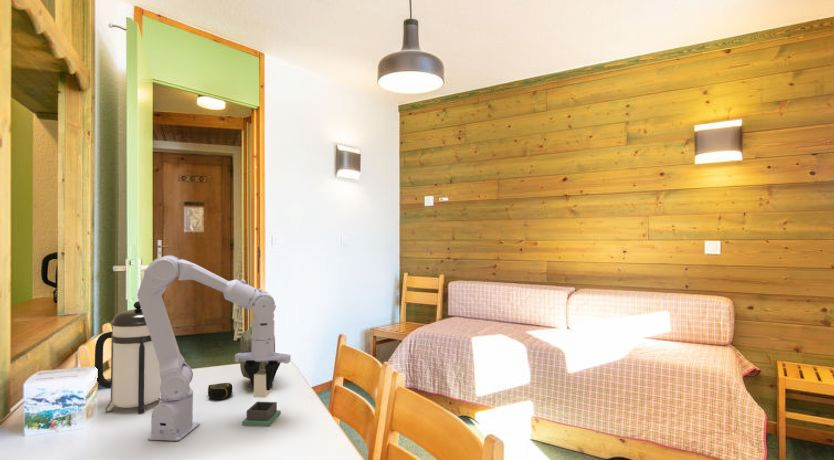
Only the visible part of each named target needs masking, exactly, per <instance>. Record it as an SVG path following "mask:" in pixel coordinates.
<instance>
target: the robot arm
mask: <svg viewBox="0 0 834 460" xmlns="http://www.w3.org/2000/svg"><path fill="white" fill-rule="evenodd" d="M177 278H178V279H177ZM176 279H177V280H178V281H189V280H192V281H195V282H198V283H200V284H202V285H205V286H207V287H210V288H212V289H214V290H217V291H219V292H221V293H223V298H224V299H225V300H226V301H229V302H230V303H234V304H235V305H237V306H240V307H242V308H244V309H245V310H249V309H250V310H252V322H251V326H252V352H251V353H240V352H238V353H236V354H235V355H234V362H235V363H239V362H240V361H244V362H246V364H245V365H244V369H245V370H246V372H247V373H248V375H249V378H250V379H249V380H250V381H251V384H252V386H251V387H252V390H253V391H254V374H255V373H257V372H258V371H259V367H260V362H269V363H268V364H267V365H265V370H266V378H267V381H266V388H267V390H270V389H271V390H272V389H273V384H274V380H275V378H276V377H275V376H276V373H277V372H278V370H279V367H280V365H281V364H289V363H290V362H291V354H287V353H279V352H275V353H274V336H275V320H274V319H275V313H274V312H275V311H276V307H277V305H276V302H275V300H274V297H273V296H272V294H270V293H268V291H263V289H261V288H255V286H251V285H250V284H248V283H246V280H245V279H243V278H242V279H240V280H239V279H233V280H232V279H231V280H227V279H225V278H224V277H222V276H220V275H217V274H216V273H213V272H212V271H209V270H208V269H206V268H204V267H202V266H200V265H199V264H197V263H193V262H191V261H189V260H187V259H183V258H179V257H177V256H175V255H170V254H167V255H164V256H162V257H158V258H156V259H154V260H152V262H151V263H149V265H148V266H147V268H145V270H144V272H143V277H142V280H141V282H140V285H139V289H138V290H137V291H138V292H137V300H138V301H139V303H140V306H141V308H140V309H142V312H143V315H144V318H145V321H146V324H147V327H148V330H149V333H150V337H151V340H152V343H153V346H154V349H155V352H156V355H157V358H158V361H159V369H160V377H161V385H160V392H161V395H160V397H159V398H160V400H159V401H158V402H159V403H158V404H157V405H156V406H155V407H154V409H153V410H152V413H151V419H150V420H151V421H150V423H151V425H150V426H151V427H150V431H151V432H150V434H151V435H149V436H148V437H147V440H149V441H151V440H152V441H173V442H179V441H181V440H182V439H183V438H184V437H185V436H188V434H190V433H191V432H193V430H195V429H196V428H197V427H199V426H200V425H201V422H195V421H193V416H194V415H193V414H194V413H193V410H194V409H193V407H194V405H193V404H194V395H193V394H194V390H193V389H192V388H191V386H190V383H191V382H192V380H193V377H194V372H193V370H192V368H191V367H190V366H189V365H188V364H187V363H186V361H185V358H184V357H183V355H182V353H181V351H180V349H179V348H180V347H179V345H178V343H177V339H176V336H175V333H174V331H173V330H174V329H173V327H172V324H171V320H170V317H169V314H168V311H167V309H166V308H167V307H166V306H165V303H164V299H163V296H162V295H164V292H165V291H166V290H167V288H168V287H169V285H170V284H171V283H172V282H173V281H174V280H176ZM250 381H249V382H250Z"/></svg>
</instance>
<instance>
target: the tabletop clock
mask: <svg viewBox="0 0 834 460" xmlns="http://www.w3.org/2000/svg"><path fill="white" fill-rule="evenodd" d="M275 337H276V336H275V335H274V353H276V339H275ZM239 343H240V346H239V350H240V351H239V353H251V352H252V325H251V327H250V329H246V330H245V331H243V332H241V333H240V342H239ZM268 363H269V362H260V367H259V370H260V369H265V365H267V364H268ZM245 364H246V362H244V361H240V364H239V366H240V372H241V375H242V377H243V378H246V379H249V380H250V378H249V375H248V373H247V372H246V370H245V369H244V365H245ZM247 387H252V384H251V381H248V382H247Z"/></svg>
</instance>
